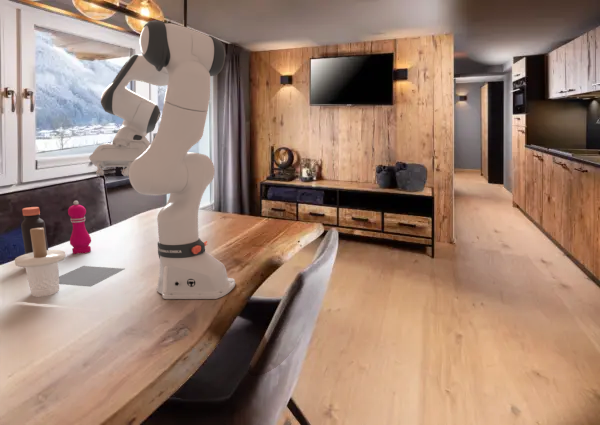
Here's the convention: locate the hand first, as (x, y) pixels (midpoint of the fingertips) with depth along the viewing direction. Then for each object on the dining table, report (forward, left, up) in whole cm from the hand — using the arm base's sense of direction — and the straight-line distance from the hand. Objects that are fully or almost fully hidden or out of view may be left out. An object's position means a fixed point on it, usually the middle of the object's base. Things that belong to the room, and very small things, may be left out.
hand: (111, 174), depth 133 cm
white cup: (+6, +25, -32) cm, 41 cm away
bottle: (+30, +3, -32) cm, 44 cm away
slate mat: (+4, +11, -31) cm, 34 cm away
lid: (+6, +25, -21) cm, 34 cm away
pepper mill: (+26, -13, -32) cm, 43 cm away
